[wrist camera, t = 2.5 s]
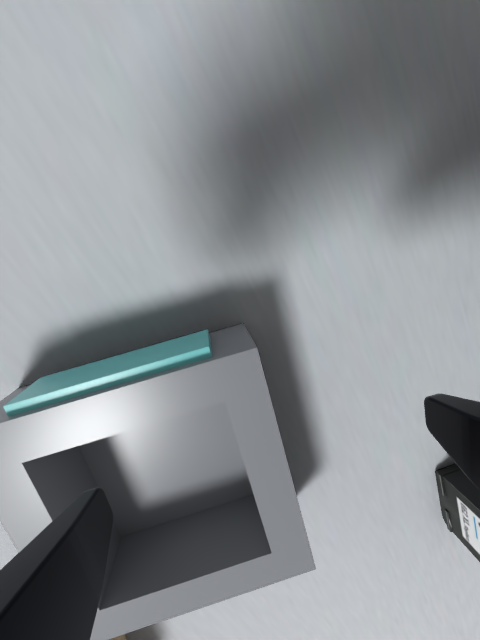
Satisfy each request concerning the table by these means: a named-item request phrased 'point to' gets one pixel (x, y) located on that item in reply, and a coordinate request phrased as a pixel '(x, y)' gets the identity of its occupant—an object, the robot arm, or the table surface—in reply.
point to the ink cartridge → (460, 506)
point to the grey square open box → (160, 474)
